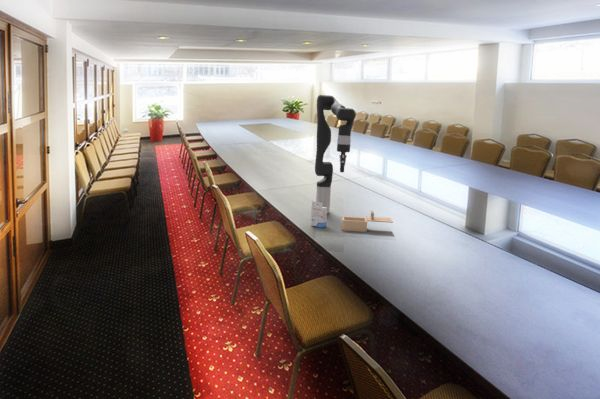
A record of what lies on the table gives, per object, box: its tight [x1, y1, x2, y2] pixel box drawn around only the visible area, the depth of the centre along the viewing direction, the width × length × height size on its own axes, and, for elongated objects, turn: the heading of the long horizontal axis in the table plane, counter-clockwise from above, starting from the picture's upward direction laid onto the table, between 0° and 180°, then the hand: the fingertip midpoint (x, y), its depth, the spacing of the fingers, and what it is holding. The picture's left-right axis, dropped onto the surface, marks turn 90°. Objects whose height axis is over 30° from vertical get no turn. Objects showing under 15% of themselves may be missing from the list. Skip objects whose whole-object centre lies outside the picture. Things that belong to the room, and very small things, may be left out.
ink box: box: [310, 200, 328, 228], centre depth 240 cm, size 8×5×15 cm, turn 50°
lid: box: [365, 210, 394, 224], centre depth 234 cm, size 11×14×4 cm
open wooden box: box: [341, 216, 368, 233], centre depth 236 cm, size 11×14×6 cm
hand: (341, 171), depth 235 cm, fingers open, 8 cm apart
